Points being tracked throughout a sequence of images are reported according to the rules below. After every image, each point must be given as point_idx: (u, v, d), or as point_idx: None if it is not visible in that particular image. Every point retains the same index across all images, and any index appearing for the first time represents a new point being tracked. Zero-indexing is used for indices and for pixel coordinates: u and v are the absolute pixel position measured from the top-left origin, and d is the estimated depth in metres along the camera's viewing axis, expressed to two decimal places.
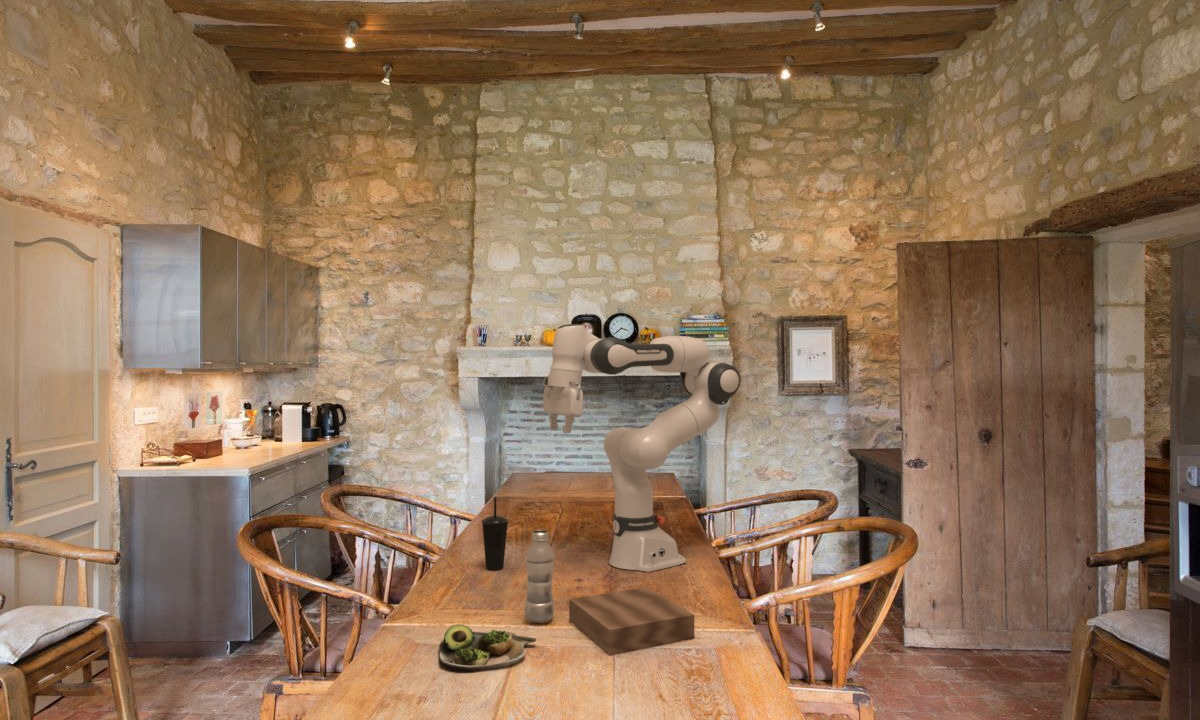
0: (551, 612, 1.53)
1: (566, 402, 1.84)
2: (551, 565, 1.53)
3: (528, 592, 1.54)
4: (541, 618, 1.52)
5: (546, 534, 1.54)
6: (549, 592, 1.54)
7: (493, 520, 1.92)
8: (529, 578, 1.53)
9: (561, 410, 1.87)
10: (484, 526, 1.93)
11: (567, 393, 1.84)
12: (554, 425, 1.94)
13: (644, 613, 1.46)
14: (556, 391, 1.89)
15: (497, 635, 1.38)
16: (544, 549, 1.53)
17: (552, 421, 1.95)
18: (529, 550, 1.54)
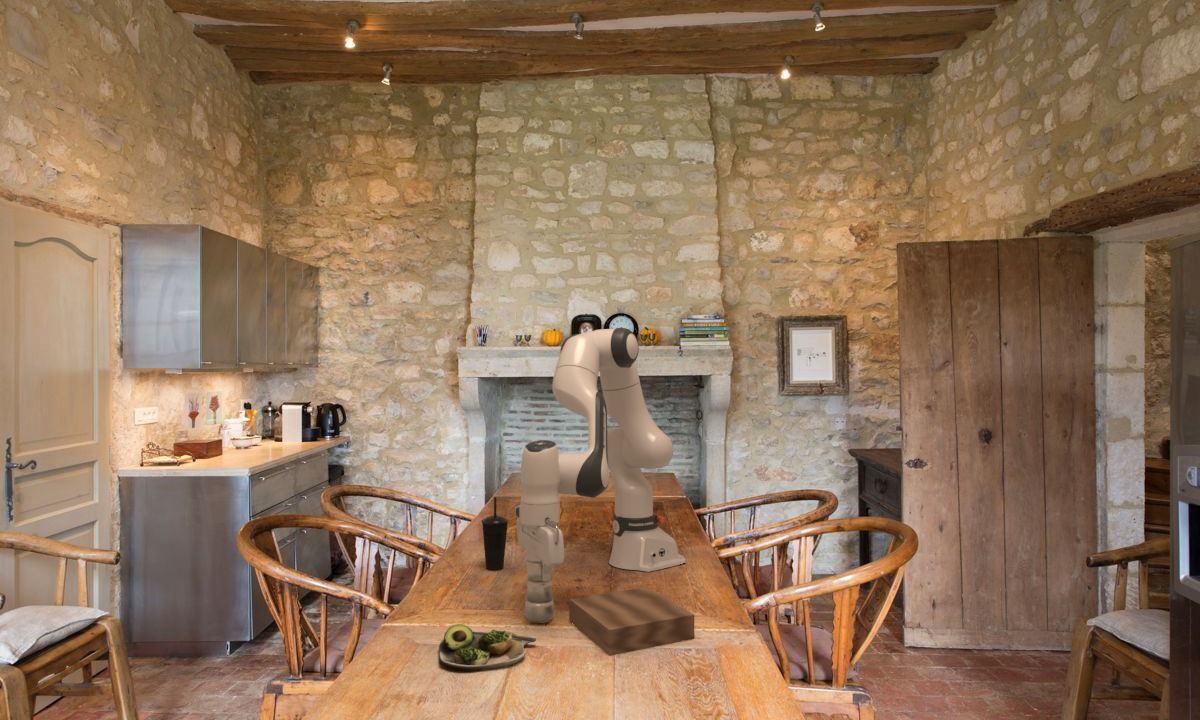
0: (551, 612, 1.53)
1: (543, 547, 1.48)
2: None
3: (528, 592, 1.54)
4: (541, 618, 1.52)
5: None
6: (549, 592, 1.54)
7: (493, 520, 1.92)
8: (529, 578, 1.53)
9: (538, 555, 1.51)
10: (484, 526, 1.93)
11: (543, 536, 1.48)
12: None
13: (644, 613, 1.46)
14: (530, 530, 1.52)
15: (497, 635, 1.38)
16: None
17: None
18: (529, 550, 1.54)
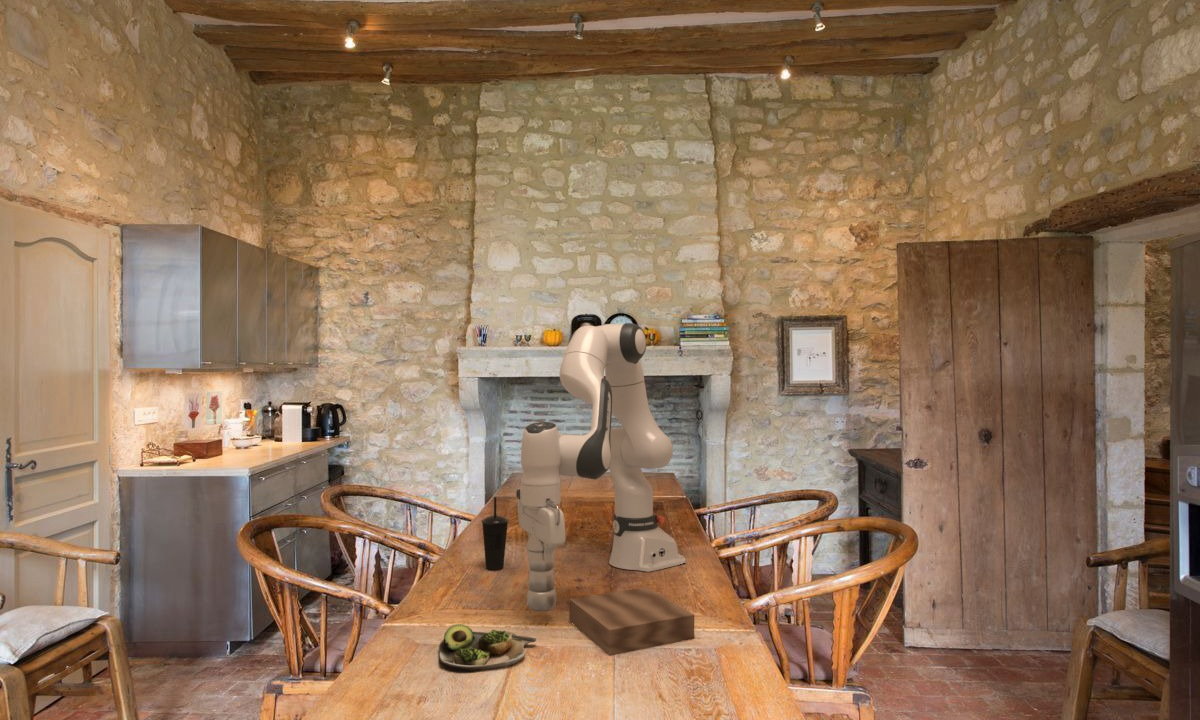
0: (552, 601, 1.53)
1: (544, 527, 1.48)
2: None
3: (529, 581, 1.54)
4: (542, 607, 1.52)
5: None
6: (551, 582, 1.54)
7: (493, 520, 1.92)
8: (530, 567, 1.54)
9: (539, 536, 1.51)
10: (484, 526, 1.93)
11: (544, 516, 1.48)
12: None
13: (644, 613, 1.46)
14: (531, 511, 1.53)
15: (497, 635, 1.38)
16: None
17: None
18: (529, 539, 1.54)
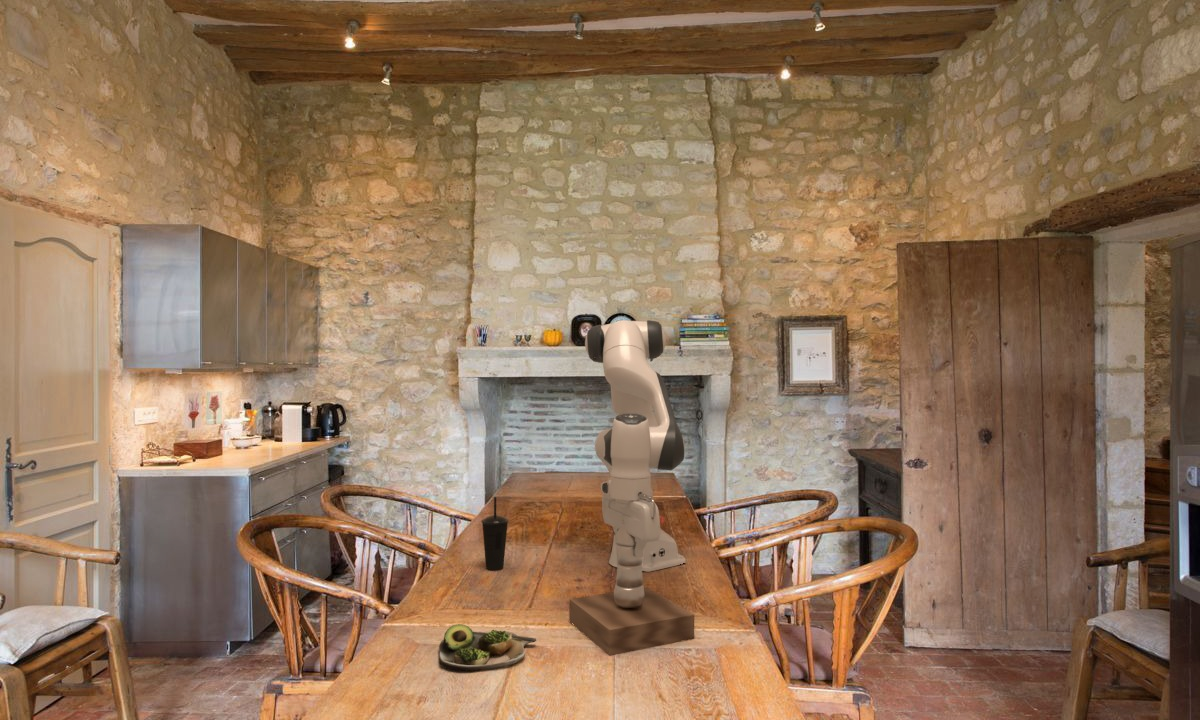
0: (641, 597, 1.48)
1: (638, 522, 1.44)
2: None
3: (618, 576, 1.49)
4: (632, 603, 1.47)
5: None
6: (640, 577, 1.49)
7: (493, 520, 1.92)
8: (619, 562, 1.49)
9: (631, 530, 1.46)
10: (484, 526, 1.93)
11: (638, 510, 1.43)
12: None
13: (644, 613, 1.46)
14: (622, 505, 1.48)
15: (497, 635, 1.38)
16: None
17: None
18: (619, 533, 1.49)
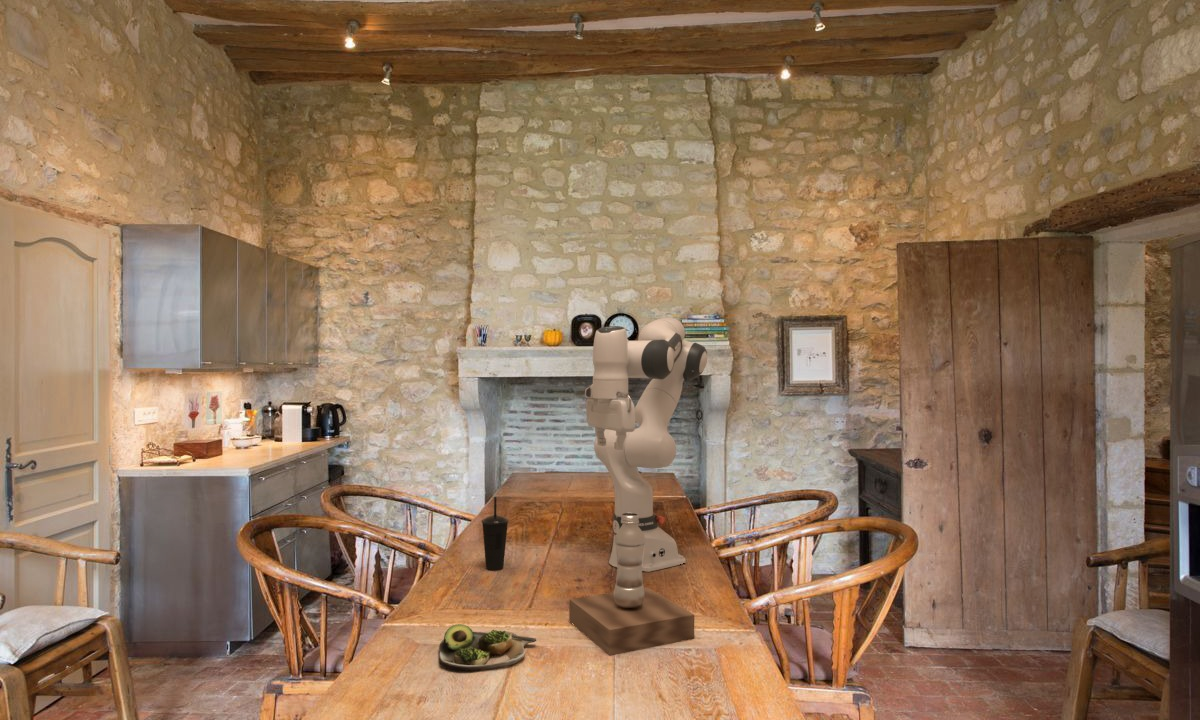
0: (641, 597, 1.48)
1: (616, 416, 1.64)
2: (641, 549, 1.49)
3: (618, 576, 1.49)
4: (632, 603, 1.47)
5: (636, 517, 1.49)
6: (640, 577, 1.49)
7: (493, 520, 1.92)
8: (619, 562, 1.49)
9: (610, 425, 1.66)
10: (484, 526, 1.93)
11: (616, 406, 1.64)
12: (602, 440, 1.74)
13: (644, 613, 1.46)
14: (602, 404, 1.68)
15: (497, 635, 1.38)
16: (634, 532, 1.48)
17: (599, 436, 1.75)
18: (619, 533, 1.49)
